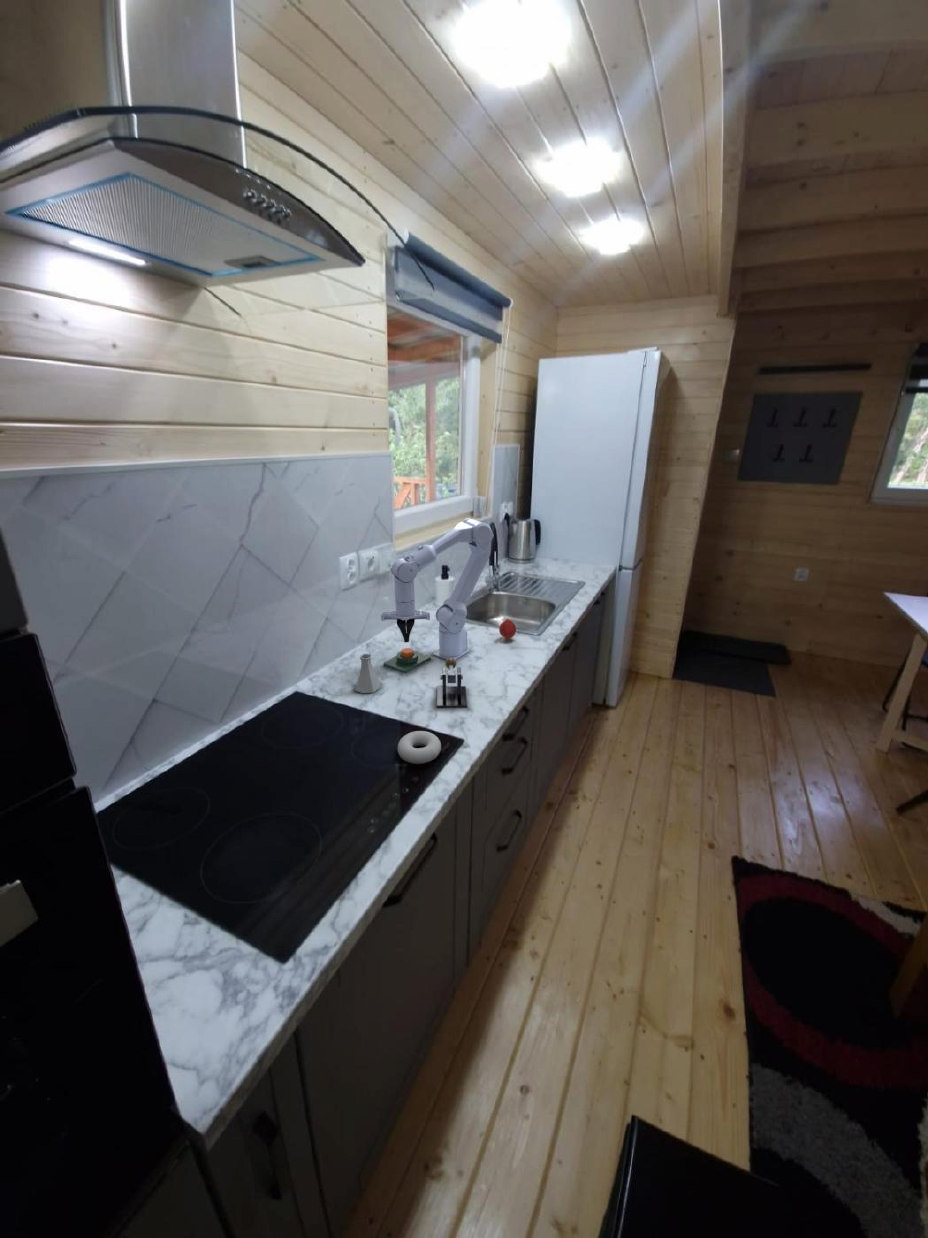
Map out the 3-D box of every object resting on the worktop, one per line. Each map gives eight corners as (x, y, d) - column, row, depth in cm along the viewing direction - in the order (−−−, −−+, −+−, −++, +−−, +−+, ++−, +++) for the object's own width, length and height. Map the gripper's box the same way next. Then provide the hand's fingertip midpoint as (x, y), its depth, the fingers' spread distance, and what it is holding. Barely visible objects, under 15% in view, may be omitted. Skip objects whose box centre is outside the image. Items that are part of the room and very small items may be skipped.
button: (406, 652, 156) (406, 647, 155) (415, 655, 154) (415, 650, 153) (398, 656, 153) (398, 651, 153) (407, 659, 151) (407, 654, 151)
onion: (499, 635, 175) (500, 614, 172) (515, 636, 174) (517, 615, 171) (498, 642, 170) (499, 620, 166) (515, 643, 169) (516, 621, 166)
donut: (410, 736, 119) (389, 760, 111) (409, 724, 118) (388, 747, 109) (448, 746, 116) (429, 771, 107) (448, 733, 115) (429, 758, 106)
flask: (375, 695, 137) (373, 663, 133) (350, 692, 138) (348, 660, 134) (384, 682, 143) (382, 651, 139) (360, 680, 144) (358, 649, 141)
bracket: (437, 690, 140) (436, 662, 136) (465, 689, 140) (465, 662, 137) (436, 709, 130) (436, 680, 127) (467, 709, 131) (467, 679, 127)
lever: (445, 666, 142) (445, 656, 141) (456, 666, 142) (456, 656, 141) (445, 684, 132) (445, 674, 130) (457, 684, 132) (457, 673, 131)
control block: (409, 652, 162) (409, 644, 160) (430, 660, 157) (430, 651, 156) (383, 666, 153) (383, 657, 151) (405, 674, 148) (405, 665, 147)
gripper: (378, 604, 143) (381, 646, 148) (429, 603, 143) (430, 646, 148) (381, 596, 149) (384, 637, 154) (429, 595, 150) (430, 636, 155)
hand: (406, 641), depth 152 cm, fingers closed
